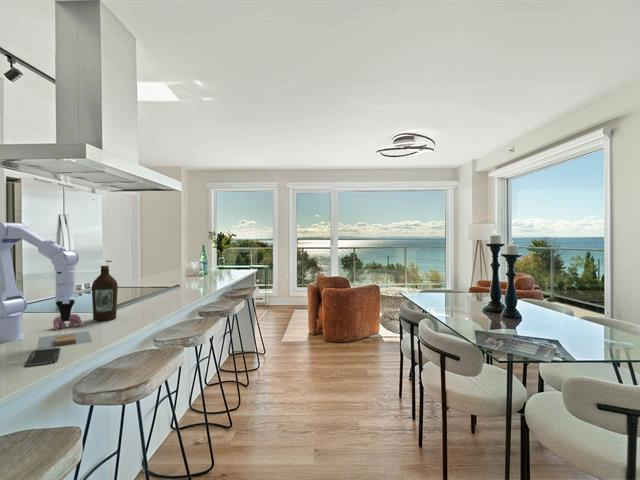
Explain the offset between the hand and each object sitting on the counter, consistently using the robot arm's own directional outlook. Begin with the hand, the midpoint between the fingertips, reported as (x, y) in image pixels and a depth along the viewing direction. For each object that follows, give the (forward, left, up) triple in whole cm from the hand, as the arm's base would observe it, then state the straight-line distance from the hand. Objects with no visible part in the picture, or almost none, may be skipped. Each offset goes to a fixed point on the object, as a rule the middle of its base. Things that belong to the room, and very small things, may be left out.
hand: (65, 320), depth 136 cm
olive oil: (-34, +16, -8) cm, 38 cm away
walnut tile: (-3, 0, -7) cm, 8 cm away
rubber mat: (-3, 0, -8) cm, 9 cm away
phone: (+16, -6, -9) cm, 19 cm away
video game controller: (-24, +1, -9) cm, 25 cm away
